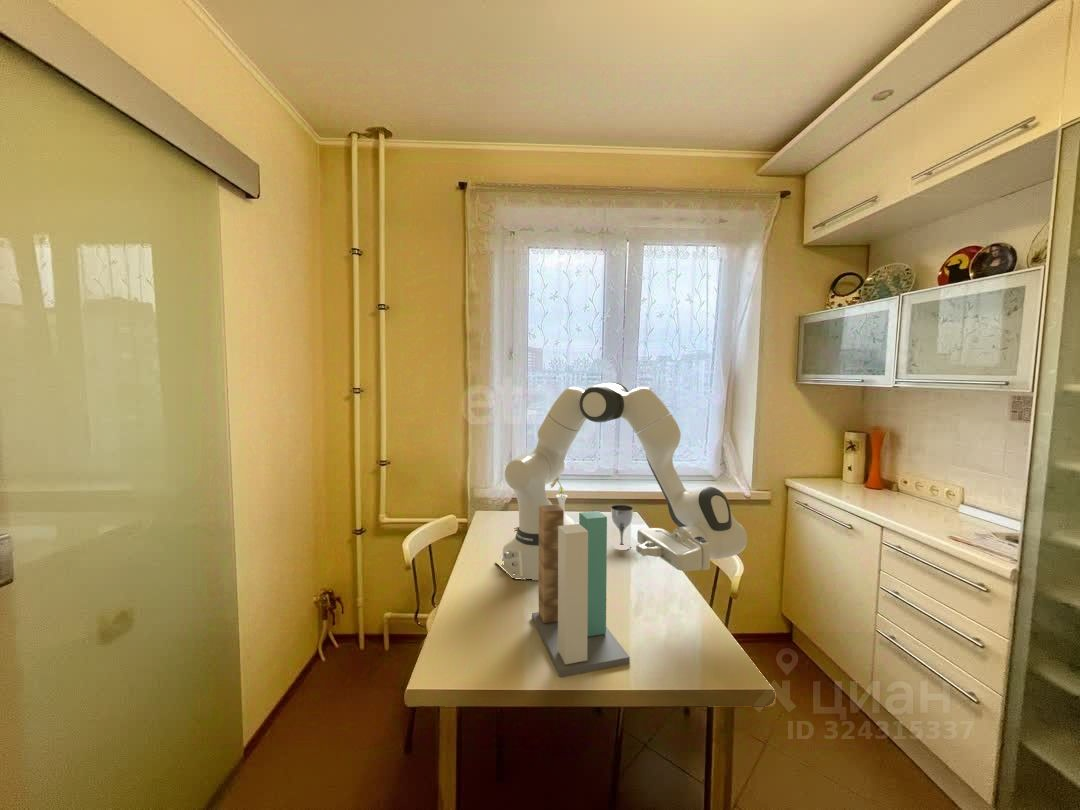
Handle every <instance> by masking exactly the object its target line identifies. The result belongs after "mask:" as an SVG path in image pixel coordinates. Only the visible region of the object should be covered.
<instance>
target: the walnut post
mask: <svg viewBox="0 0 1080 810" xmlns="http://www.w3.org/2000/svg"><path fill="white" fill-rule="evenodd" d="M564 511H565V509H564V510H563V509H562V508H561V507H559V504H552V505H546V506H539V580H538V612H539V615H540V617H541V619H542V621H543V622H544V623H551V622H557V621H558V526H564Z"/></svg>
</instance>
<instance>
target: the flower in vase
mask: <svg viewBox="0 0 1080 810" xmlns="http://www.w3.org/2000/svg"><path fill="white" fill-rule="evenodd" d="M559 478H560V476H559V477H558V478H557V479H555V480H554V481H552V482H551V484H550V488H554V487H555V486H556V484H557V482H558V484H559V488H558V491H559V493H558V494H556V495H555V497H556V498H557V501H558V506H559V507H561V508H562V509H563V510H564V525H575V523H576V522H575V520H574V519H572V518H571V517H570V516H568V515H567V513H566V511H565V503H566V499H567V498H568V495H567V494H563V493H564V492H565V489H564V488H563V487H562V485H561V483H560V481H559Z"/></svg>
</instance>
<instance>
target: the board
mask: <svg viewBox="0 0 1080 810" xmlns="http://www.w3.org/2000/svg"><path fill="white" fill-rule="evenodd" d="M531 619H533V620H532V621H533V624H534V626H535V628H536V630H537V632H538V635H539V636H540V638H541V641H542V643H543V644H544V647H545V649H546V651H547V653H548V656H549V657H550V660H551V662H552V664H553V666H554V668H555V670H556V673H557V675H558V677H559V678H563V677H569V676H574V675H579V674H583V673H589V672H594V671H600V670H605V669H609V668H614V667H620V666H625V665H630V664H631V662H630V661H631V657H630V655H629V654H628V653H627V651H625V648H623V646H622V645H621V644H620V642H619V641H618V640H617V639H616V637H615V636H614V634H613V633H612V632H611V631H610V629H609V628H608V627H607V626H606V634H600V635H594V636H588V637H587V661H582V662H576V663H571V664H566V665H565V663H564V661H563V659H562V657H561V655H560V654H559V652H558V621H557V622H551V623H544V622H543V621H542V619H541V617H540V615H539V611H537V612H536V611H535V612H532V613H531Z"/></svg>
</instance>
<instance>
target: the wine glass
mask: <svg viewBox="0 0 1080 810" xmlns="http://www.w3.org/2000/svg"><path fill="white" fill-rule="evenodd" d="M610 509H611V510H610V513H611V514H610V515H611V519H612V522H613V524H614V525H615V526H616V528H617V529H618V530H619V535H620V542H619V543H620V545H624V544H625V543H624V542H623V541H624V540H623V539H624V532H625V530H627V528H628V527H629V526H630V524H631V523H632V520H633V515H634V509H633V506H631V505H628V504H614V505H611V508H610ZM623 543H624V544H623Z"/></svg>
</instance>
